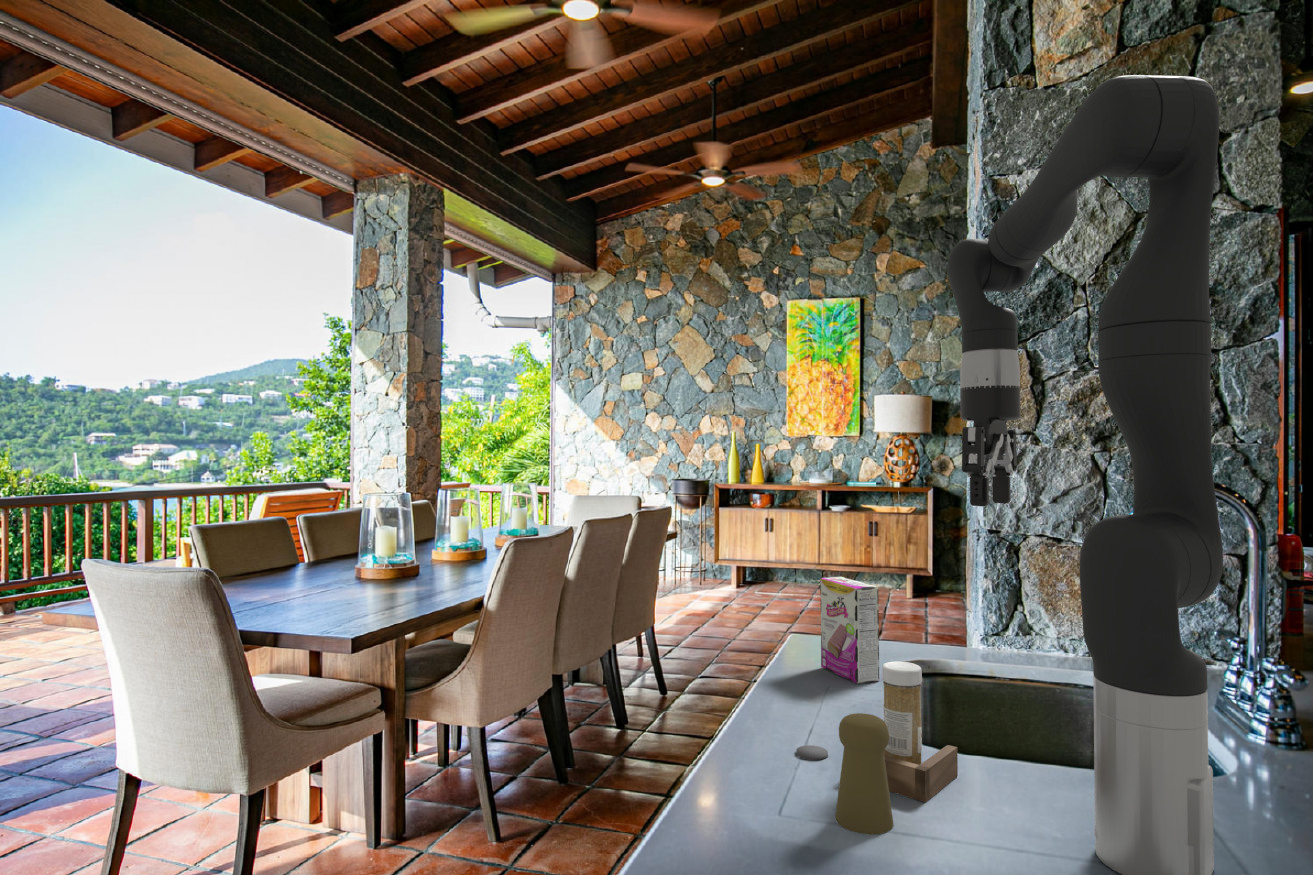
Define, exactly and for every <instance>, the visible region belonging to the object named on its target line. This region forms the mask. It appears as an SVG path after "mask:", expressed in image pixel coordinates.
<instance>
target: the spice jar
mask: <svg viewBox="0 0 1313 875" xmlns="http://www.w3.org/2000/svg"><path fill="white" fill-rule="evenodd" d="M881 672H882V674H881V675H882V676H881V678H882V681H883V682H882V683H883V721H884V722H885V723H886V725H887V728H888V732H889V741H888V745H887V746H886V748H885V756H889V757H892V758H896V759H900V760H903V761H907V762H910V763H914V764H918V765H920V764H921V763H922V751H923V740H922V736H923V735H922V734H923V733H922V716H921V713H922V710H921V704H922V703H921V687H922V682H923V676H922V674H923V673H922V667H921V666H920V665H918V664H916V663H912V662H907V661H896V660H895V661H888V662H885V663H883V665H882V671H881Z"/></svg>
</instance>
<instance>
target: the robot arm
mask: <svg viewBox="0 0 1313 875" xmlns="http://www.w3.org/2000/svg"><path fill="white" fill-rule="evenodd" d="M1219 107H1220V106H1219V101H1218V97H1217V95H1216V91H1214V88H1213V87H1212V85H1211V84H1210V83H1209V82H1207V81H1206V80H1205V79H1202V78H1199V77H1195V76H1183V75H1181V76H1180V75H1154V74H1153V75H1145V74H1142V75H1141V74H1139V75H1137V74H1133V75H1131V74H1128V75H1119V76H1115V77H1112V78H1109V79H1107V80H1105V81H1104V82H1102V83H1100V84H1099V85H1098V86H1097V87H1096V88H1095V89H1094V90H1093V91H1092V92H1091V93H1090V94H1089V95H1088V96H1087V98H1086V99H1085V100H1084V102H1083V103H1082V104H1080V107H1078V109H1077V111H1076V113H1075V114H1074V115H1073V117H1072V118H1071V120H1070V122H1069V123H1068V125H1067V126H1066V127H1065V129H1064V130H1063V132H1062V134H1061V135H1060V137H1059V139H1057V141H1056V143H1055V144H1054V146H1053V148H1052V149H1051V151H1050V153H1049V155H1048V156H1047V157H1046V159H1045V161H1044V162H1043V164H1042V165H1041V167H1040V169H1039V170H1038V172H1037V174H1036V175H1035V177H1034V179H1033V180H1032V182H1031V183H1030V184H1029V185H1028V187H1027V188H1026V189H1025V190H1024V192H1023V193H1022V194H1021V195H1020V196H1019V198H1017V199H1016V200H1015V201H1014V202H1013V203H1012V204H1011V205H1010V206H1009V208H1008V209H1006V210H1005V212H1004V213H1003V214H1002V215H1001V216H1000V217H999V218H998V219H997V220H996V221H995V222H994V223H993V225H992V227H991V228H990V230H989V232H988V238H983V239H982V238H967V239H963V240H960V241H958V242H957V243H956V244H955V246H954V247H953V248H952V249H951V251H950V253H949V256H948V258H947V264H946V266H947V267H946V268H947V269H946V271H947V277H948V282H949V285H950V288H951V292H952V294H953V298H954V301H955V305H956V308H957V309H956V310H957V313H958V315H959V319H960V325H961V360H960V361H961V362H960V368H959V376H960V377H959V379H960V380H959V382H960V383H959V384H960V385H959V386H960V388H959V391H960V392H959V394H960V396H959V397H960V401H959V402H960V407H959V408H960V419H961V420H962V421H965V422H973V424H972V426H964V427H962V430H961V431H962V433H961V435H962V436H961V437H962V438H961V443H962V444H961V471H962V473H966V476H967V477H968V478H969V504H970V505H971V506H973V507H987V506H988V505H990V492H989V491H990V485H989V484H990V480H989V479H990V478H989V475H990V472H991V473H992V474H991V475H992V501H993V503H995V504H1009V503H1010V502H1011V498H1012V497H1011V494H1012V493H1011V492H1012V491H1011V477H1012V476H1013V474H1014V472H1017V470H1018V458H1017V457H1018V456H1017V454H1018V453H1017V430H1016V429H1015V428H1008V425H1007V422H1008V421H1017V420H1019V419H1020V417H1021V368H1020V360H1019V353H1018V352H1019V348H1018V345H1019V344H1018V337H1019V336H1018V333H1019V332H1018V317H1017V314H1016V312H1015V311H1014V310H1012V309H1011V308H1007V307H1004V306H1001V305H996V304H994V303H992V302H990V301H989V299H988V298H987V295H986V294H985V292H989V293H990V292H993V293H994V292H995V293H998V292H999V293H1000V292H1001V293H1002V292H1012V291H1015V290H1018V289H1019V288H1021V287H1023V286H1024V285H1026V283H1027V282H1028V280H1029V279H1030V276H1031V274H1032V272H1033V270H1034V268H1035V266H1036V265H1037V263H1038V261H1039V259H1040V257H1041V256H1043V254H1045V253H1046V252H1048V251H1049V250H1050V249H1051V248H1052V247H1053V246H1055V245H1056V244H1057V243H1058V242H1059V241H1060V240H1062V238H1063V237H1064V236H1065V235H1066V234H1067V233H1068V231H1069V230H1070V229H1071V227H1072V225H1073V224H1074V222H1075V220H1076V217H1077V212H1078V190H1079V189H1080V188H1081V187H1083V186H1084V185H1086V184H1087V183H1089V182H1091V181H1092V180H1094V179H1095V178H1098V177H1103V176H1105V177H1109V178H1144V179H1145V178H1147V181H1148V188H1149V189H1148V190H1149V191H1148V192H1149V197H1148V198H1149V200H1148V211H1147V218H1146V225H1145V228H1144V231H1143V234H1142V236H1141V239H1140V241H1139V243H1138V244H1137V246H1136V248H1135V250H1134V251H1133V253H1132V255H1131V256H1130V258H1129V260H1128V261H1127V263H1126V264H1125V265H1124V267H1123V268H1122V270H1121V272H1120V273H1119V275H1118V276H1117V278H1116V279H1115V281H1114V282H1113V284H1112V285H1111V287H1110V289H1109V291H1108V293H1107V294H1106V297H1105V299H1104V301H1103V302H1102V305H1101V307H1100V309H1099V310H1100V311H1099V315H1098V321H1097V322H1098V324H1097V330H1098V332H1097V339H1098V341H1097V345H1098V346H1097V347H1098V348H1097V350H1098V351H1097V352H1098V353H1097V354H1098V355H1097V356H1098V357H1097V358H1098V364H1097V367H1098V376H1099V378H1098V379H1099V382H1100V386H1101V389H1102V393H1103V395H1104V398H1105V401H1106V403H1107V406H1108V408H1109V410H1110V411H1111V414H1112V416H1113V418H1114V420H1115V423H1116V425H1117V426H1118V429H1119V431H1120V432H1121V435H1122V437H1123V439H1124V441H1125V444H1126V446H1127V448H1128V452H1129V455H1130V459H1131V460H1130V461H1131V464H1132V465H1131V466H1132V472H1133V474H1132V475H1133V508H1132V514H1131V513H1130V514H1129V513H1128V514H1119V515H1113V516H1109V517H1106V518H1103V519H1102V520H1100V521H1098V522H1097V523H1095V524H1094V525H1093V526H1092V527H1091V528H1090V529H1089V530H1088V532H1087V534H1086V535H1085V537H1084V540H1083V542H1082V545H1081V549H1080V557H1079V589H1080V590H1079V591H1080V602H1081V619H1082V621H1081V622H1082V632H1083V638H1084V642H1085V645H1086V647H1087V650H1088V652H1089V654H1090V657H1091V661H1092V668H1093V670H1092V672H1093V673H1092V674H1093V744H1094V745H1093V746H1094V747H1093V753H1094V754H1093V757H1094V759H1093V762H1094V763H1093V764H1094V765H1093V769H1094V772H1093V773H1094V823H1095V824H1094V838H1095V840H1094V842H1095V843H1094V847H1095V854H1096V856H1097V857H1098V859H1099V860H1100V861H1101V862H1102V863H1103V864H1104V865H1106V866H1107V867H1109V868H1110V869H1111V870H1113V871H1115V872H1116V873H1119V874H1121V875H1213V872H1214V869H1215V851H1214V850H1215V848H1214V847H1215V843H1214V841H1215V840H1214V839H1215V838H1214V834H1215V833H1214V832H1215V831H1214V829H1215V828H1214V782H1213V781H1214V779H1213V778H1214V774H1213V773H1214V772H1213V767H1212V766H1211V765H1210V764H1209V723H1208V722H1209V720H1208V719H1209V714H1208V713H1209V712H1208V710H1209V709H1208V708H1209V706H1208V704H1209V702H1208V701H1209V700H1208V699H1209V698H1208V667H1207V664H1206V662H1205V660H1204V659H1203V657H1202V656H1200V655H1199V654H1197V653H1196V652H1194V651H1192V650H1189V649H1187V648H1186V647H1185V645H1184V644H1183V642H1182V638H1181V629H1180V621H1179V620H1180V618H1179V617H1180V616H1179V609H1181V608H1187V607H1191V606H1195V605H1198V604H1200V603H1202V602H1204V601H1205V600H1207V599H1208V598H1209V597H1211V596H1212V594H1213V593H1214V592H1215V591H1216V589H1217V588H1218V585H1219V584H1220V581H1221V578H1222V574H1223V569H1224V550H1223V541H1222V531H1221V524H1220V519H1219V518H1220V517H1219V511H1218V510H1219V509H1218V505H1217V502H1218V501H1217V497H1216V490H1215V480H1214V473H1213V462H1212V458H1213V457H1212V406H1211V404H1212V403H1211V372H1212V371H1211V368H1212V325H1211V323H1212V319H1211V308H1210V307H1211V303H1210V250H1211V249H1210V247H1211V246H1210V245H1211V241H1210V240H1211V216H1212V206H1213V196H1214V188H1215V180H1216V179H1215V178H1216V168H1217V161H1218V160H1217V159H1218V149H1219V140H1220V108H1219Z"/></svg>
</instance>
